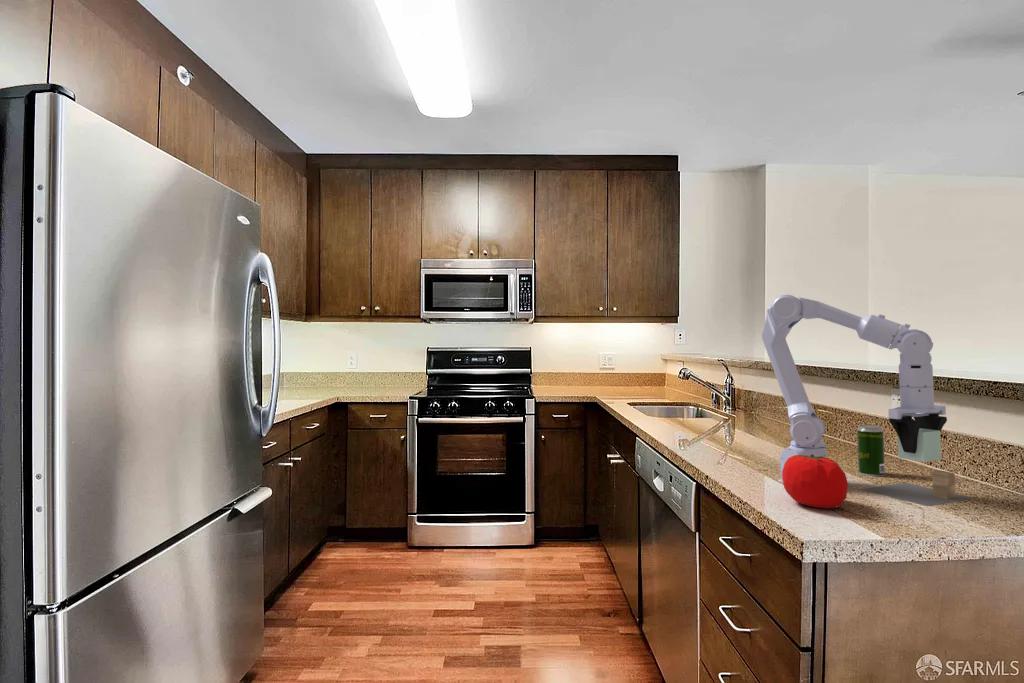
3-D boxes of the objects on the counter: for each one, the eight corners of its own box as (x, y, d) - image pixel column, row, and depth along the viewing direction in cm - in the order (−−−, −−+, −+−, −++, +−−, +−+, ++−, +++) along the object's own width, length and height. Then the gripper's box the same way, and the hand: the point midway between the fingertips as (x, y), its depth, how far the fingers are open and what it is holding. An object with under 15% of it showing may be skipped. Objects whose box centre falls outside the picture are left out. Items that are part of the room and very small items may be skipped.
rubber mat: (927, 508, 104) (927, 506, 104) (860, 490, 117) (860, 489, 117) (975, 500, 109) (975, 498, 109) (904, 484, 122) (904, 482, 122)
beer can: (888, 475, 131) (886, 426, 131) (880, 479, 127) (878, 428, 127) (863, 471, 135) (861, 424, 135) (855, 475, 131) (853, 426, 132)
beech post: (946, 499, 108) (945, 474, 109) (933, 495, 111) (932, 471, 111) (955, 497, 109) (954, 473, 109) (941, 494, 112) (940, 470, 112)
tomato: (825, 517, 100) (824, 462, 100) (768, 501, 111) (767, 451, 112) (865, 509, 104) (863, 456, 104) (806, 494, 116) (804, 446, 116)
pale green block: (924, 461, 109) (922, 432, 109) (898, 457, 114) (897, 429, 114) (941, 459, 111) (940, 430, 111) (915, 455, 116) (914, 427, 116)
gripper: (911, 389, 107) (915, 457, 106) (960, 385, 112) (963, 451, 111) (877, 387, 113) (880, 451, 113) (924, 384, 118) (927, 446, 118)
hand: (919, 451), depth 113 cm, fingers closed on pale green block, 5 cm apart
